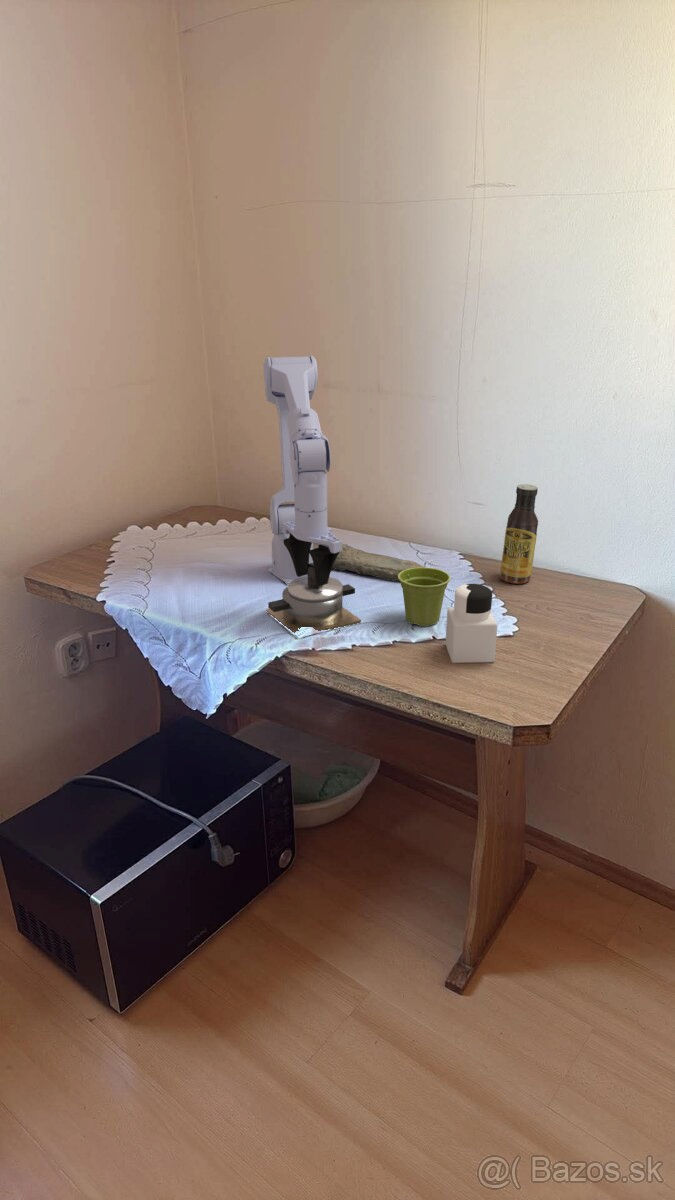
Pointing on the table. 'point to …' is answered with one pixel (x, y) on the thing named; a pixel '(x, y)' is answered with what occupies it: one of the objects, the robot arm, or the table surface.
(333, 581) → the lid
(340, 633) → the table surface
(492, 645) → the medicine bottle
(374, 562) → the long grey stone
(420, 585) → the plant pot
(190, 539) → the table surface
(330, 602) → the pot
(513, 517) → the sauce bottle
